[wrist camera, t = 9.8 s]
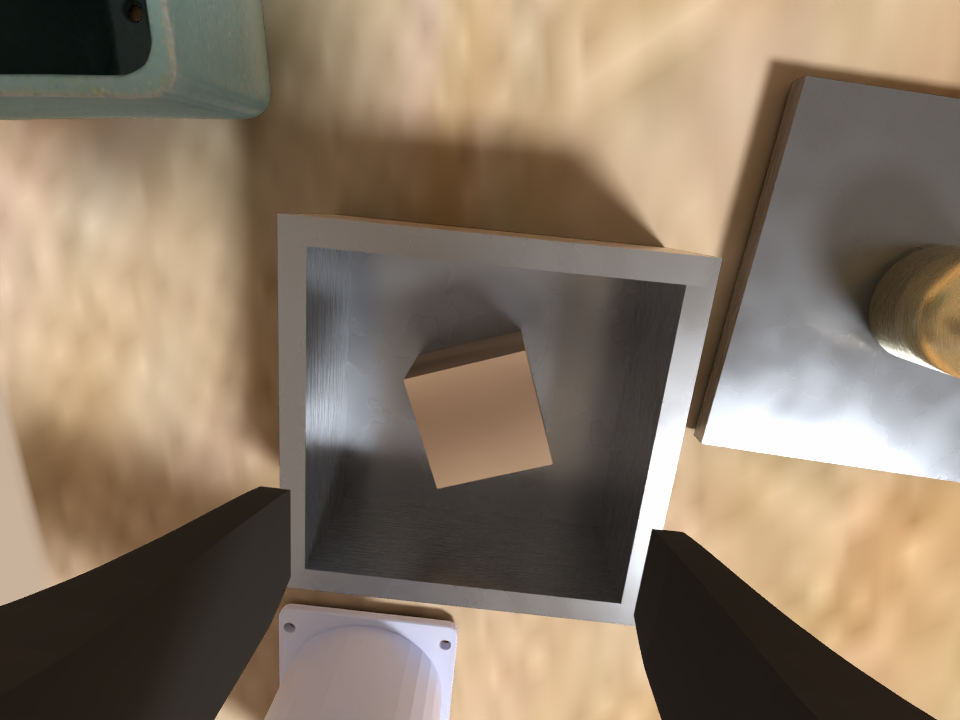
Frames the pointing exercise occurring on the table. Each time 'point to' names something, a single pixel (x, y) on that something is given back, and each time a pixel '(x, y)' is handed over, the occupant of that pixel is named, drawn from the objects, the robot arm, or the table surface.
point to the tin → (560, 389)
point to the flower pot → (132, 59)
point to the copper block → (478, 410)
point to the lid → (849, 289)
